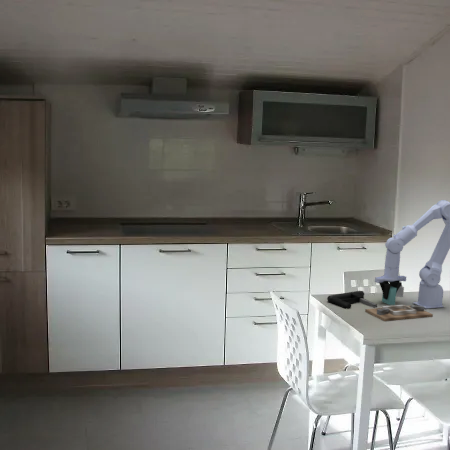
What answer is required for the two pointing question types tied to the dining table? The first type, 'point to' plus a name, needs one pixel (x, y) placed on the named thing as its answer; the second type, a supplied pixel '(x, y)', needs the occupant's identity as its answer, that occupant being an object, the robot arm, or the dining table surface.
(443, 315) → the dining table surface
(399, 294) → the lighter
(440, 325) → the dining table surface
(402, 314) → the board
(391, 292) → the block
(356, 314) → the dining table surface
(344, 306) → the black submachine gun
